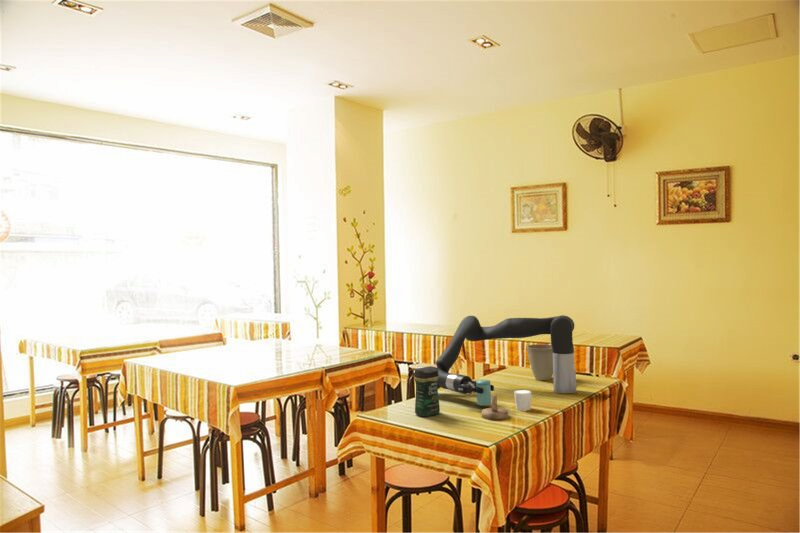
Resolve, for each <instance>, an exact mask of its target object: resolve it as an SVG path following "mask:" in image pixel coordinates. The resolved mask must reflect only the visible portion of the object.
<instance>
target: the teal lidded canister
mask: <svg viewBox="0 0 800 533" xmlns="http://www.w3.org/2000/svg"><path fill="white" fill-rule="evenodd" d="M475 381H476V387H480V388H483V394H480V393H476V404H477V405H478V406H489V405H492V393H491V392H492V391H491V386H490V385H491V380H489V379H479V380H475Z"/></svg>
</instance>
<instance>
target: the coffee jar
mask: <svg viewBox="0 0 800 533" xmlns="http://www.w3.org/2000/svg"><path fill="white" fill-rule="evenodd" d="M413 376H414V377H413V379H414V382H415V403H414V414H416V415H417V416H418V417H432V416H434V415H438V414H439V413H440V412H441V410H440V400H439V399H440V397H439V392H438V391H439V389H438V387H437V383H438V378H439V375H438V369H437V366H431V365H429V366H425V367H420V368H416V369H414V375H413Z"/></svg>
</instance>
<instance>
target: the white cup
mask: <svg viewBox="0 0 800 533" xmlns="http://www.w3.org/2000/svg"><path fill="white" fill-rule="evenodd" d="M513 394H514V402H515V403H514V404H515V410H516V409H517V410H516V411H519V410H520V411H519V412H527V410H529V411H531V409H532V408H531V406H532V391H531V390H528V389H517V390H514V391H513Z"/></svg>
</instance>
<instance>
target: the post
mask: <svg viewBox="0 0 800 533" xmlns="http://www.w3.org/2000/svg"><path fill="white" fill-rule="evenodd" d="M481 418H482V419H484V420H488V421H502V420H507V419H508V418H509V411H508V409H505V408H502V407H498V396H497V394H493V395H492V394H491V407H488V408H483V409H482V410H481Z"/></svg>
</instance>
